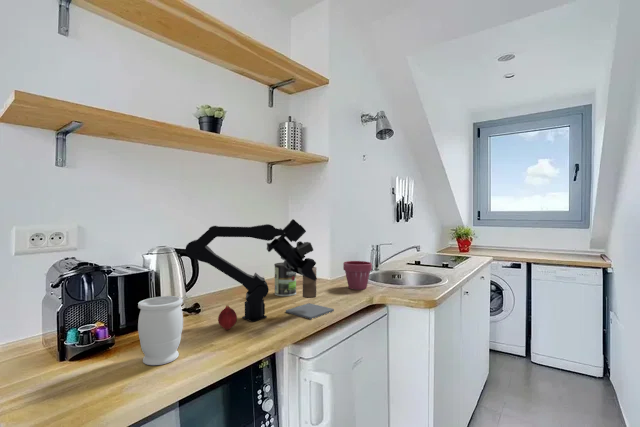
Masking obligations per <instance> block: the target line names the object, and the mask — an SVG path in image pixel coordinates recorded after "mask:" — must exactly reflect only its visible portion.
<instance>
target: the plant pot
mask: <svg viewBox="0 0 640 427" xmlns="http://www.w3.org/2000/svg"><path fill="white" fill-rule="evenodd" d="M372 264H373V263H372V262H369V261H363V260H350V261H349V260H348V261H344V262H343V264H342V265H343V271H344V272H345V276H346V283H347V285H348V288H349V289H350V290H357V291H358V290H360V291H361V290H366V289H367V288H368V283H369V278H370V273H371V272H372V270H373V265H372Z"/></svg>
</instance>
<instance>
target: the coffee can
mask: <svg viewBox="0 0 640 427" xmlns="http://www.w3.org/2000/svg"><path fill="white" fill-rule="evenodd" d="M273 266H274V296H277V297H292V296H296V295H297V273H295V272H293V271H291V270H290V269H291V267H289V268H290V269H287V268H286V267H285V266H284V261H283V262H276V263H274V265H273Z"/></svg>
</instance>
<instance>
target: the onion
mask: <svg viewBox="0 0 640 427" xmlns="http://www.w3.org/2000/svg"><path fill="white" fill-rule="evenodd" d="M217 320H218V322H217V323H218V324H219V325H220V327H221V328H223V329H224V330H225V331H229V330H230V329H231V328H233V327H235V325H236V324H237V322H238V321H237V320H238V314H237V313H236V311H235V309H233V308H231V307H230V306H229V305H228V304H226V305H225V308H223V309H222V310H221V311H220V313H219V314H218V318H217Z"/></svg>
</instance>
